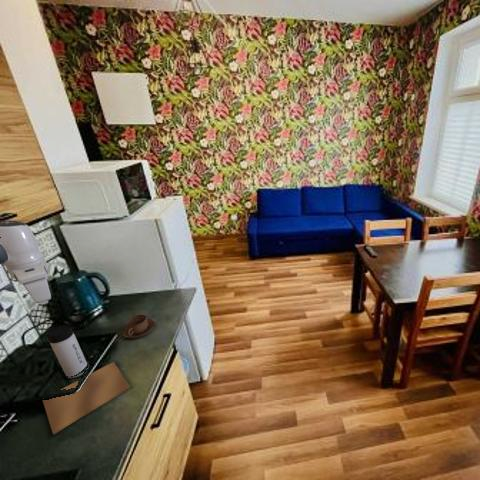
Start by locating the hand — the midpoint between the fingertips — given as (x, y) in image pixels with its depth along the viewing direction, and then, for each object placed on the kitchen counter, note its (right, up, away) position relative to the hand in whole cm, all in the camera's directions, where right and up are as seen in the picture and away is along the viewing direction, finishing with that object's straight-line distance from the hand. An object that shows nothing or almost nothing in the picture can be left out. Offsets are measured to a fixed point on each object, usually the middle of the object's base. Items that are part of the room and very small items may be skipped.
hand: (44, 302), depth 93 cm
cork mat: (+18, -31, -3) cm, 36 cm away
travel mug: (+7, -27, +5) cm, 29 cm away
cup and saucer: (+16, -19, +26) cm, 36 cm away
